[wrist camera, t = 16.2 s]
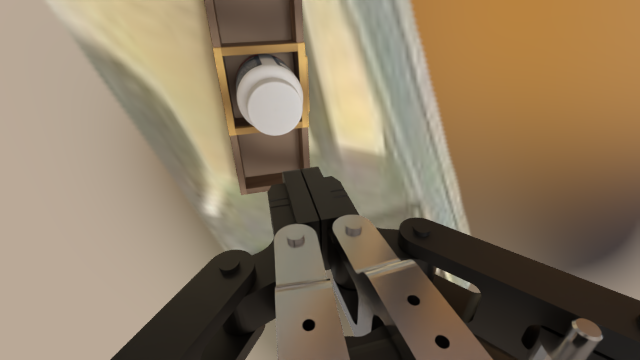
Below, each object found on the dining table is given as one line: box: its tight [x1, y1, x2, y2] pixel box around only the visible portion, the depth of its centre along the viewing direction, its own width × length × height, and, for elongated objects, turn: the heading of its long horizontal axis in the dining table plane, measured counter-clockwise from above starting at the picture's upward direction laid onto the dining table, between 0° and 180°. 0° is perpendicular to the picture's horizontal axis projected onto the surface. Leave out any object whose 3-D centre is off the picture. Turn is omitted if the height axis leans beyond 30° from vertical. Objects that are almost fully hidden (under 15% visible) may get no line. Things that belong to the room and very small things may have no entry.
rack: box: [204, 0, 310, 195], centre depth 28 cm, size 21×8×4 cm, turn 3°
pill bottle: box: [236, 54, 303, 136], centre depth 25 cm, size 5×5×9 cm
